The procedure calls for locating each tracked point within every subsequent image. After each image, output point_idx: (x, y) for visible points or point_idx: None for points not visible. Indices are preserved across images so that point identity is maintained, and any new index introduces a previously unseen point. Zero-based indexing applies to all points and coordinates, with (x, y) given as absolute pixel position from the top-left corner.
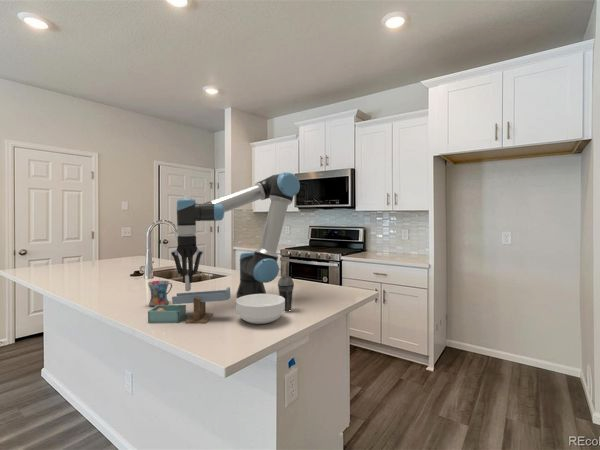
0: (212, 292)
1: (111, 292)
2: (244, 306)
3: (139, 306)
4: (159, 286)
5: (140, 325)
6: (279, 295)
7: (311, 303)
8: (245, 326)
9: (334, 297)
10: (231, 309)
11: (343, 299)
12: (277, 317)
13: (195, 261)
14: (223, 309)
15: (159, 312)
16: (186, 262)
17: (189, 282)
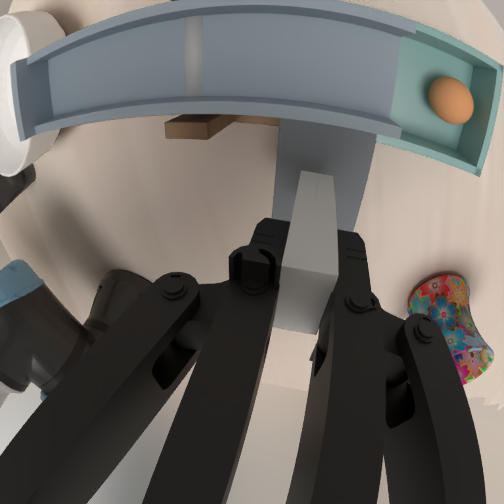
0: (104, 108)
1: (490, 383)
2: (13, 14)
3: (489, 290)
4: (461, 343)
5: (490, 41)
6: (2, 187)
7: (19, 219)
8: (69, 14)
9: (15, 250)
10: (143, 186)
11: (3, 235)
12: (5, 65)
13: (58, 453)
14: (172, 189)
15: (449, 37)
16: (288, 502)
17: (287, 223)
